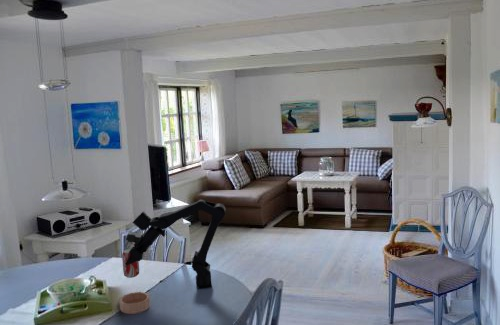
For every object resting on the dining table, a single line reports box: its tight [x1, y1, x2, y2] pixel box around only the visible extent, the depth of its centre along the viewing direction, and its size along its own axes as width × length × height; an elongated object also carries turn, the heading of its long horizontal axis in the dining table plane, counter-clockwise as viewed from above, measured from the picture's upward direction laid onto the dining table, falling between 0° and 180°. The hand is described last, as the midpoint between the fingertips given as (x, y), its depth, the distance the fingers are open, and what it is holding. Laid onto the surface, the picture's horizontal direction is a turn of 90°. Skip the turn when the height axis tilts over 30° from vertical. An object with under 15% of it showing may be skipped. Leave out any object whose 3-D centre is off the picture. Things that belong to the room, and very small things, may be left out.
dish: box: [119, 291, 151, 315], centre depth 197 cm, size 12×12×4 cm
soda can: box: [121, 247, 140, 279], centre depth 214 cm, size 7×7×12 cm
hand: (127, 261), depth 214 cm, fingers closed on soda can, 7 cm apart
